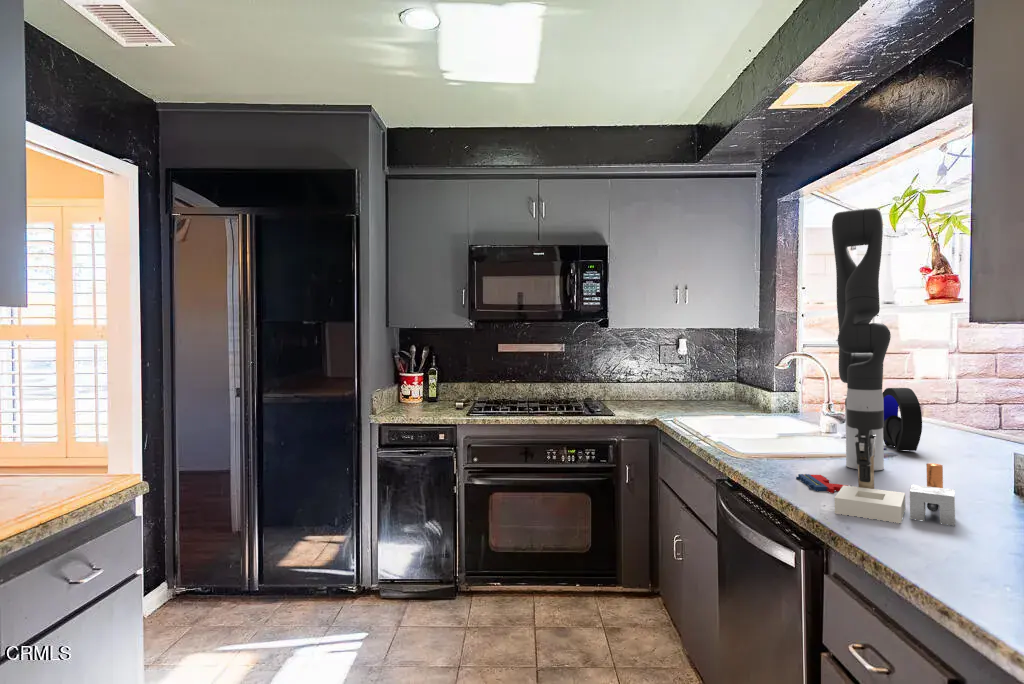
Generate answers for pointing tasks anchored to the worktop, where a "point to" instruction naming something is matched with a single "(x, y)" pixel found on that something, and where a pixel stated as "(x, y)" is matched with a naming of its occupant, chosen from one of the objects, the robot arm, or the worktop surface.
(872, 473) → the dowel
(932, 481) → the lock pin
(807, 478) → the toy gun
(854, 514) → the socket block
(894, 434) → the headphones
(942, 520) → the pin mount
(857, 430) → the robot arm
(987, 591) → the worktop surface
